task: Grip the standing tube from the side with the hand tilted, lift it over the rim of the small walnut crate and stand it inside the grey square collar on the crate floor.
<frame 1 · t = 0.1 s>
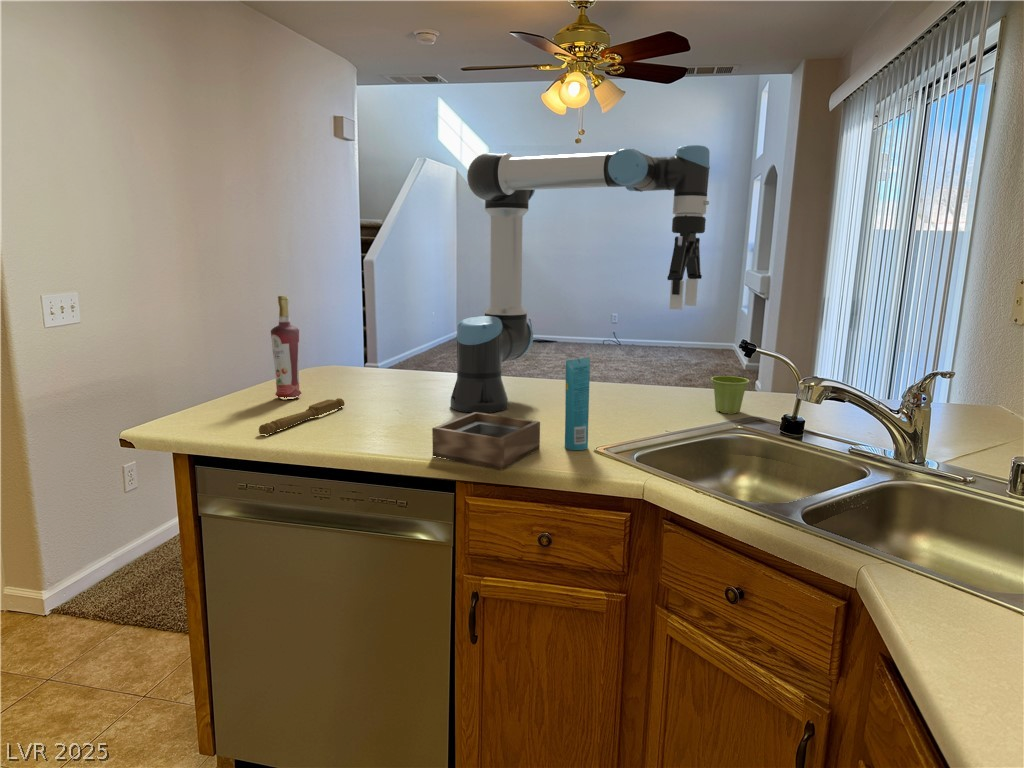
hand: (683, 307, 162), 28 cm above the worktop, tool pointing down, fingers open, 13 cm apart
liquor: (288, 398, 187), on the worktop
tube: (575, 448, 144), on the worktop
crate: (487, 452, 139), on the worktop
tap handle: (306, 422, 164), on the worktop
plant pot: (727, 412, 178), on the worktop
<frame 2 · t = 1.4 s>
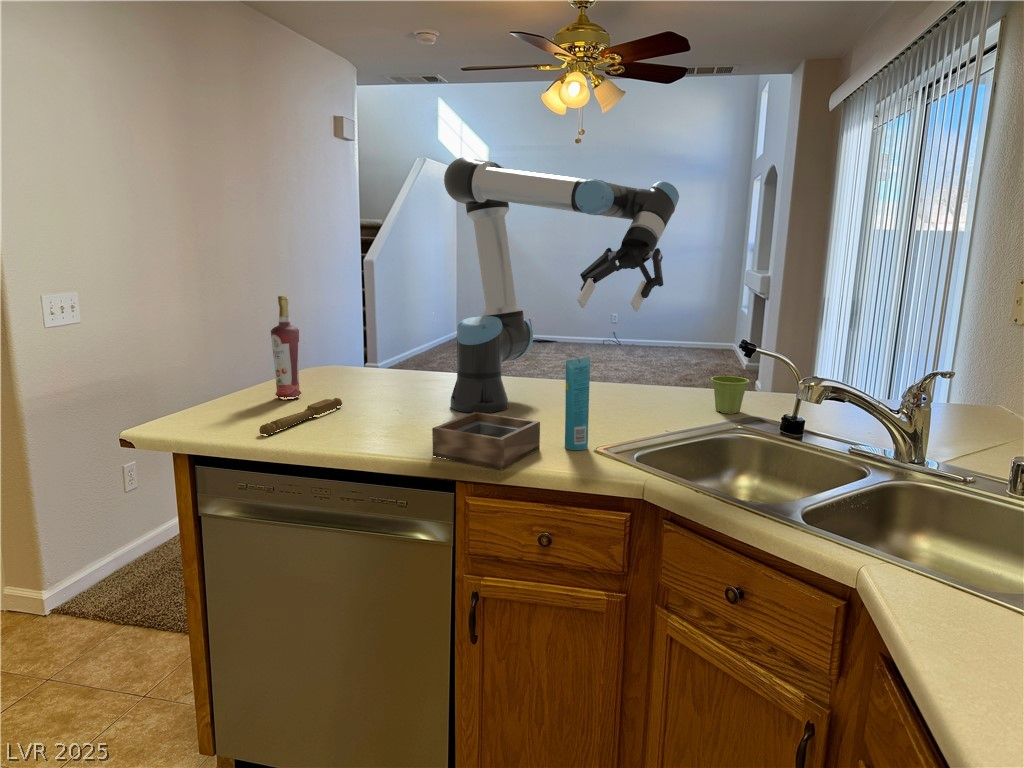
hand: (606, 305, 149), 29 cm above the worktop, tool tilted 45°, fingers open, 13 cm apart
nothing on the worktop moved.
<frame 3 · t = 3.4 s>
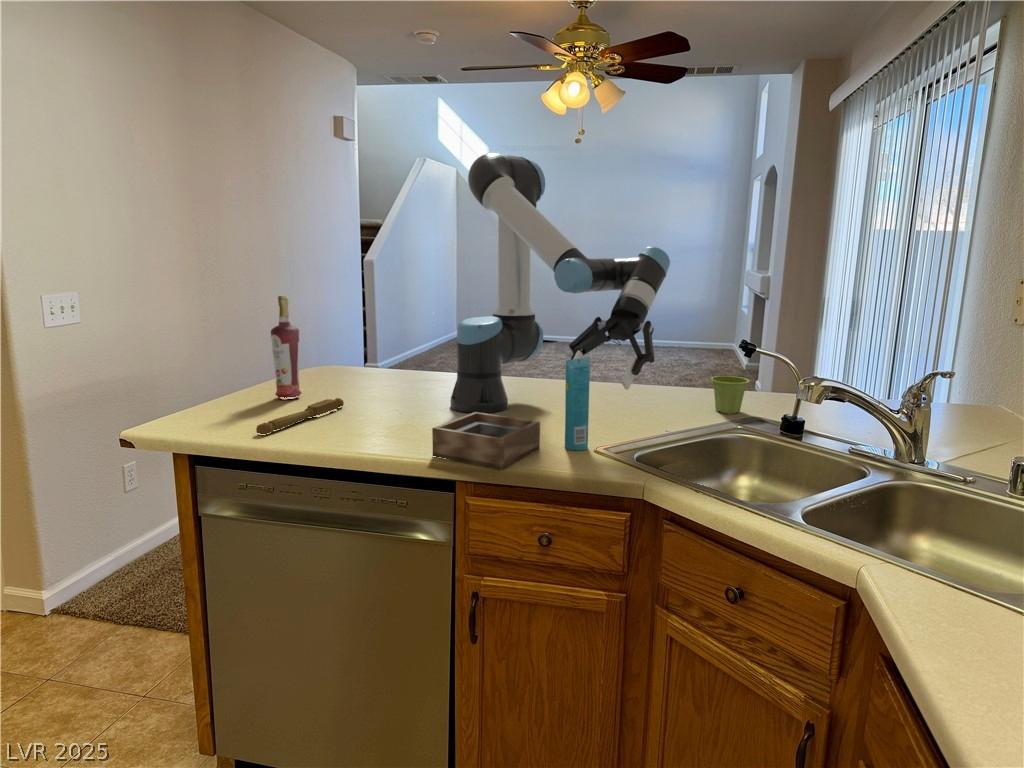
hand: (596, 381, 144), 14 cm above the worktop, tool tilted 45°, fingers open, 13 cm apart
nothing on the worktop moved.
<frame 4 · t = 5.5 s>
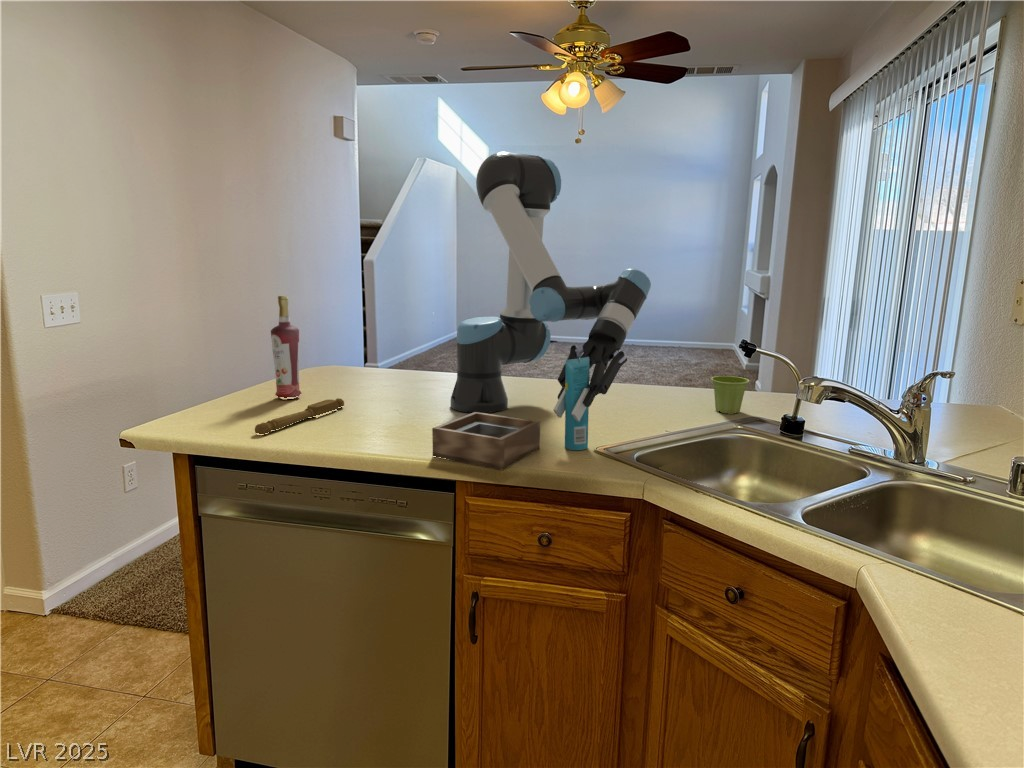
hand: (566, 415, 140), 8 cm above the worktop, tool tilted 45°, fingers closed on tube, 4 cm apart
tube: (575, 448, 144), on the worktop, touching gripper
everything else where it was.
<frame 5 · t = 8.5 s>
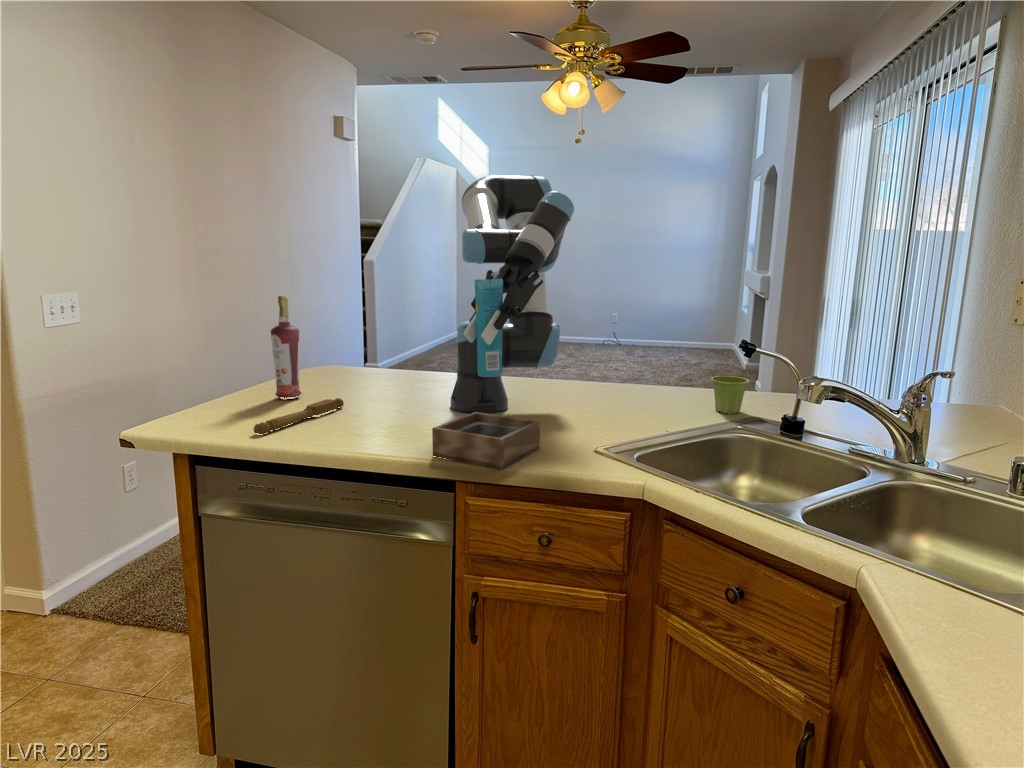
hand: (476, 339, 132), 24 cm above the worktop, tool tilted 45°, fingers closed on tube, 4 cm apart
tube: (489, 376, 136), point 16 cm above the worktop, touching gripper
everything else where it was.
when the fingers open (10 cm above the worktop, at t = 11.3 s): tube drops 1 cm, resting on crate.
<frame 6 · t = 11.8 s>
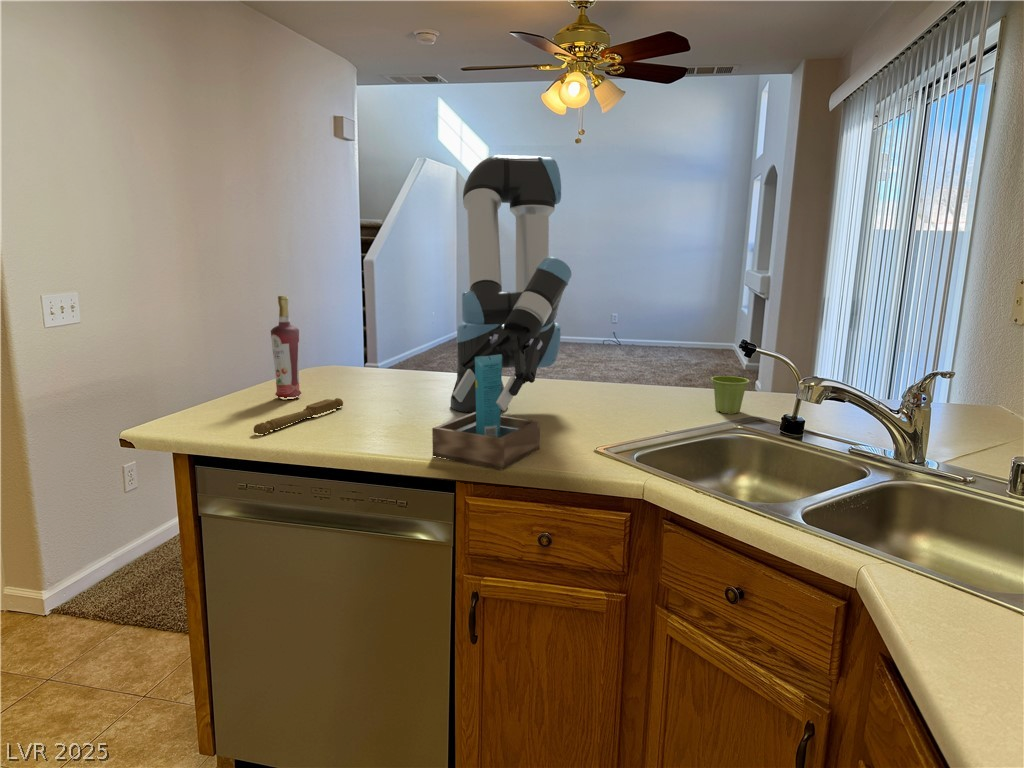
hand: (478, 402, 135), 11 cm above the worktop, tool tilted 45°, fingers open, 11 cm apart
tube: (487, 448, 139), point 1 cm above the worktop, touching crate
everything else where it was.
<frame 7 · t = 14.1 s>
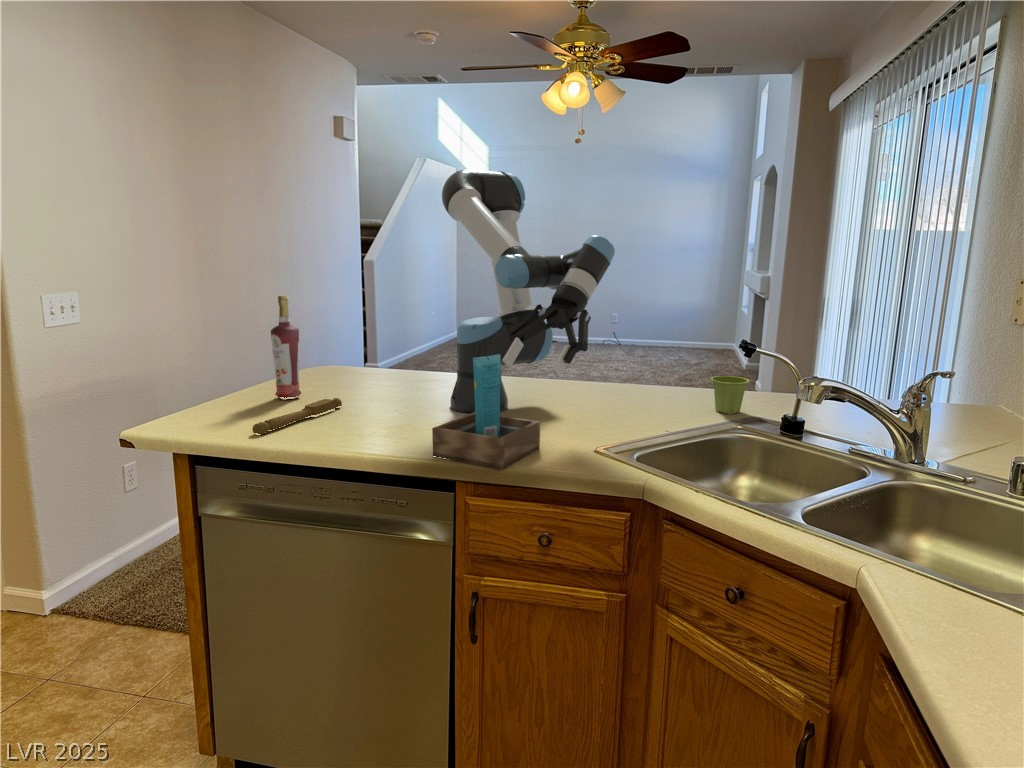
hand: (530, 369, 145), 16 cm above the worktop, tool tilted 45°, fingers open, 13 cm apart
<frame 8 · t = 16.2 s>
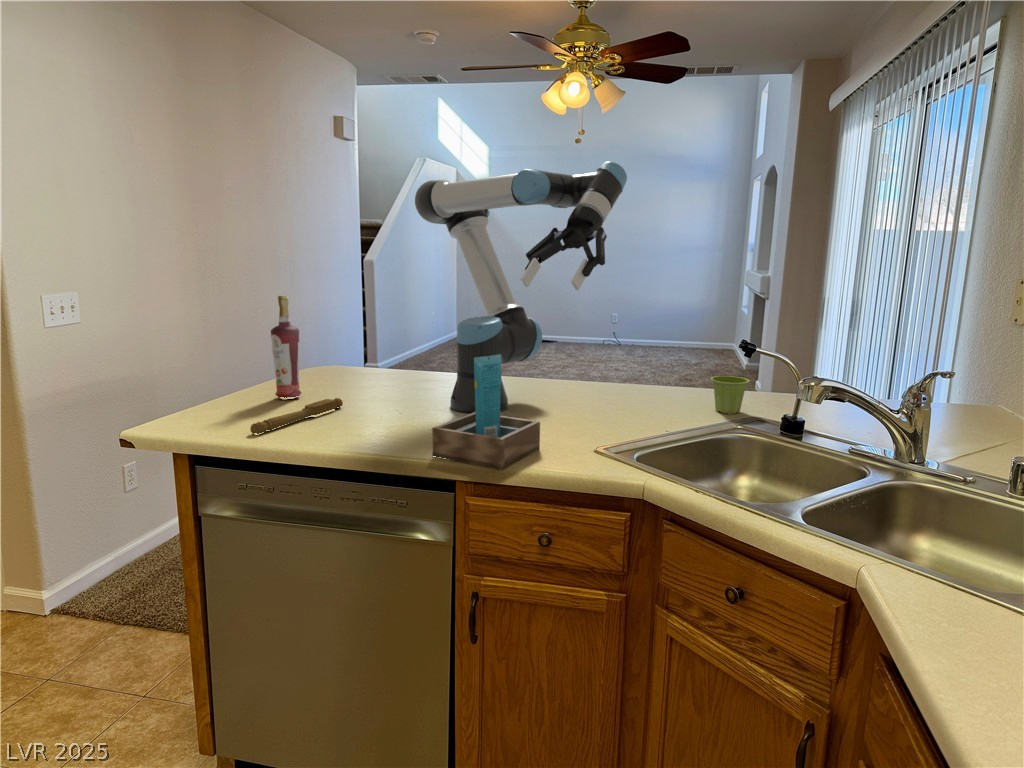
hand: (548, 284, 148), 34 cm above the worktop, tool tilted 45°, fingers open, 13 cm apart
at the end: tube inside the target area on the crate (0.1 cm from its centre), point 0.8 cm above the crate's base; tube tilted 0°; the gripper is holding nothing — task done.
